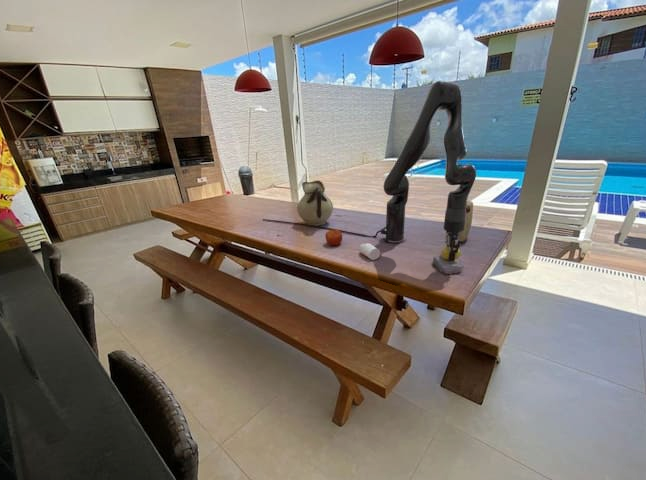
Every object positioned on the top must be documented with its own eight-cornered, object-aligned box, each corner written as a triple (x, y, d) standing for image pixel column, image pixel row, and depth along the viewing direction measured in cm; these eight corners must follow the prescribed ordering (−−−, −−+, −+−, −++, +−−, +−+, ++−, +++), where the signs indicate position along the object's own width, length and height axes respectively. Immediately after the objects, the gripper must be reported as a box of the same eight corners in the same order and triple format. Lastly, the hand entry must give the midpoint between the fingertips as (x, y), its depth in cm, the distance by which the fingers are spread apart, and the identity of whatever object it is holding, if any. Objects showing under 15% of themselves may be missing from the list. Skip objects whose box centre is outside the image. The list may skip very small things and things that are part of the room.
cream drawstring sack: (313, 216, 208) (310, 178, 197) (342, 221, 196) (340, 181, 185) (291, 225, 192) (286, 185, 181) (321, 231, 179) (318, 188, 169)
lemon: (441, 261, 125) (442, 249, 123) (439, 256, 130) (440, 245, 128) (461, 261, 124) (462, 250, 122) (458, 256, 129) (459, 245, 127)
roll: (367, 249, 151) (367, 239, 149) (380, 258, 141) (380, 247, 138) (356, 252, 149) (356, 241, 147) (368, 261, 139) (368, 249, 136)
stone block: (451, 264, 135) (430, 262, 134) (455, 254, 133) (433, 252, 132) (464, 277, 125) (441, 275, 123) (468, 267, 122) (445, 264, 121)
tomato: (331, 248, 155) (331, 233, 151) (322, 243, 162) (321, 229, 158) (346, 244, 159) (346, 229, 155) (337, 239, 166) (336, 225, 163)
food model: (463, 244, 150) (469, 204, 141) (450, 241, 154) (455, 202, 146) (471, 239, 156) (477, 200, 147) (458, 236, 160) (463, 198, 152)
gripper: (441, 213, 126) (437, 251, 134) (448, 224, 114) (443, 265, 121) (460, 213, 125) (455, 251, 133) (469, 223, 113) (463, 265, 120)
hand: (450, 257), depth 127 cm, fingers closed on lemon, 5 cm apart
